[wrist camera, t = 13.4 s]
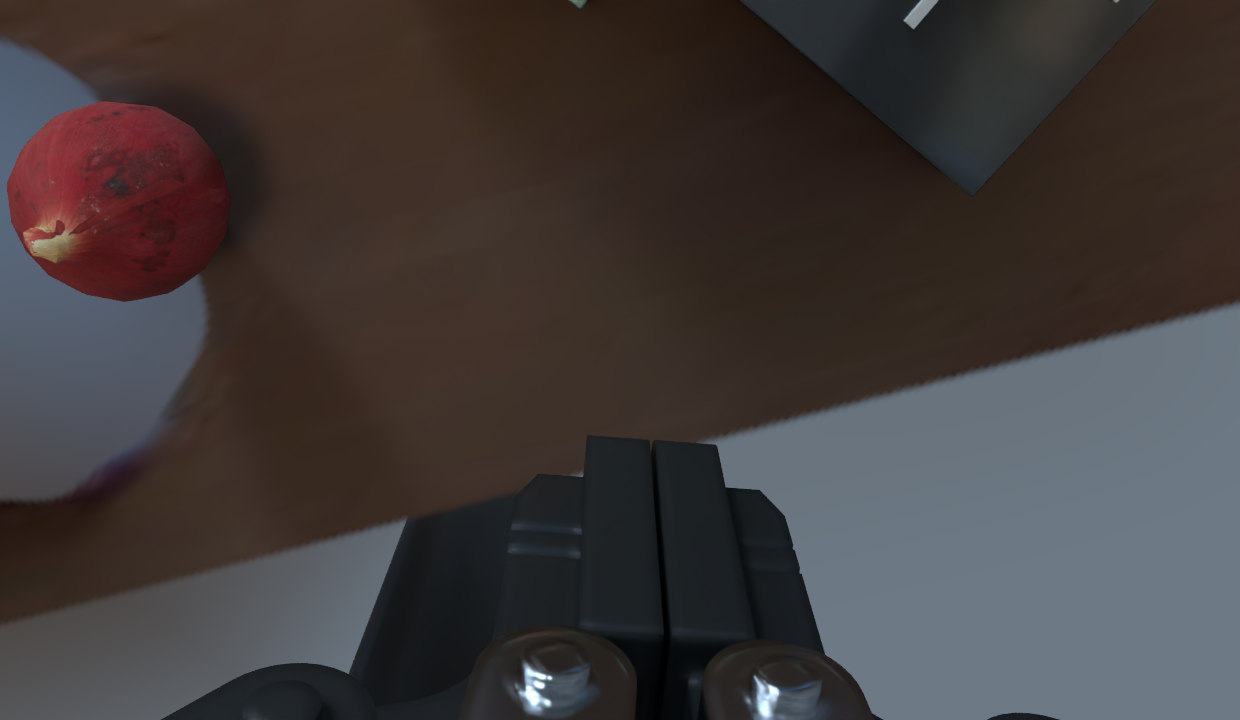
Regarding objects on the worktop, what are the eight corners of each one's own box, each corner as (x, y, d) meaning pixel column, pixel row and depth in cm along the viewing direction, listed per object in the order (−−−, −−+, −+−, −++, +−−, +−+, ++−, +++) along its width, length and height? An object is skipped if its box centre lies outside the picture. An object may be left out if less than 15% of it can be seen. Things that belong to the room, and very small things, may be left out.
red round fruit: (177, 46, 32) (42, 87, 25) (300, 194, 34) (207, 272, 27) (50, 150, 34) (-113, 218, 26) (175, 287, 35) (54, 385, 28)
